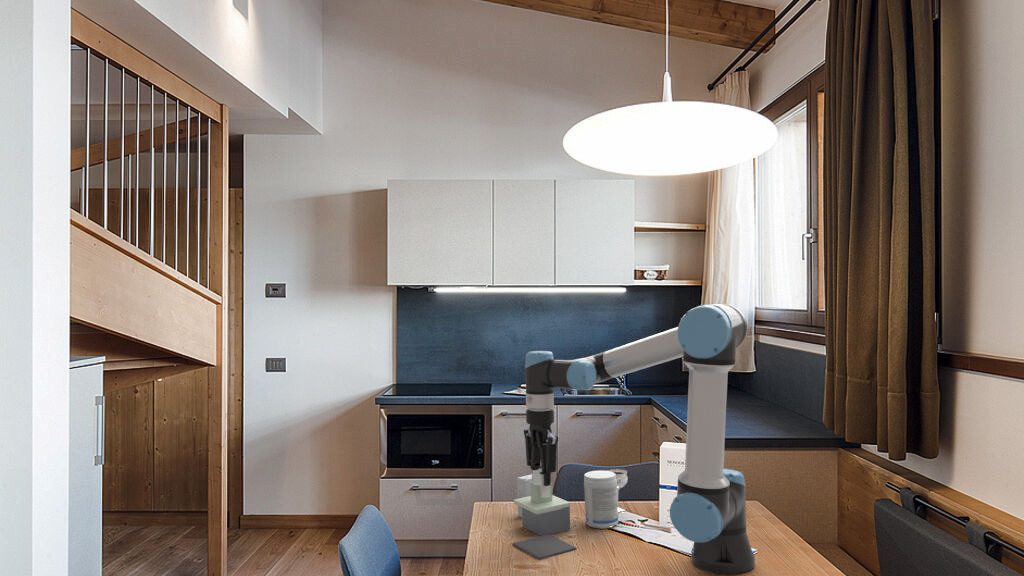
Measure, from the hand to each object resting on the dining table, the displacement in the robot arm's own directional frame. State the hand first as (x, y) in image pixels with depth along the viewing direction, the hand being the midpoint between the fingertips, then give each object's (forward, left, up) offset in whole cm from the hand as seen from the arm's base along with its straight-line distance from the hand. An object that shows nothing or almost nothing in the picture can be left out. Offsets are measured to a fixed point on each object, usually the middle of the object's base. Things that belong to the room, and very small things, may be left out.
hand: (541, 495), depth 186 cm
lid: (0, 0, -3) cm, 3 cm away
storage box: (+12, -9, -14) cm, 20 cm away
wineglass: (+12, -36, -14) cm, 41 cm away
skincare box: (+24, -11, -14) cm, 30 cm away
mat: (0, 0, -14) cm, 14 cm away
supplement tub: (+5, -24, -14) cm, 28 cm away
